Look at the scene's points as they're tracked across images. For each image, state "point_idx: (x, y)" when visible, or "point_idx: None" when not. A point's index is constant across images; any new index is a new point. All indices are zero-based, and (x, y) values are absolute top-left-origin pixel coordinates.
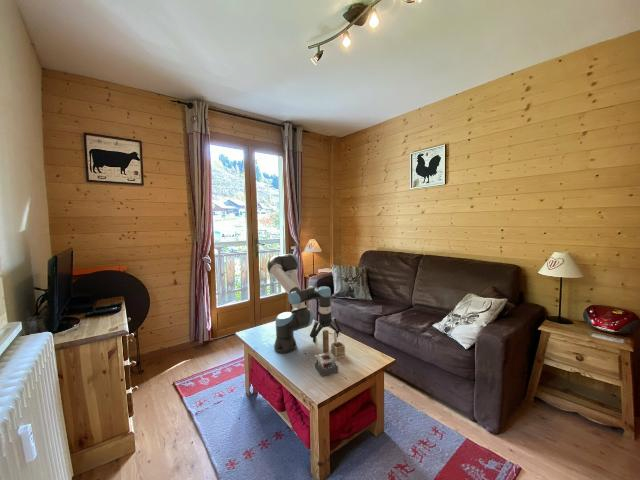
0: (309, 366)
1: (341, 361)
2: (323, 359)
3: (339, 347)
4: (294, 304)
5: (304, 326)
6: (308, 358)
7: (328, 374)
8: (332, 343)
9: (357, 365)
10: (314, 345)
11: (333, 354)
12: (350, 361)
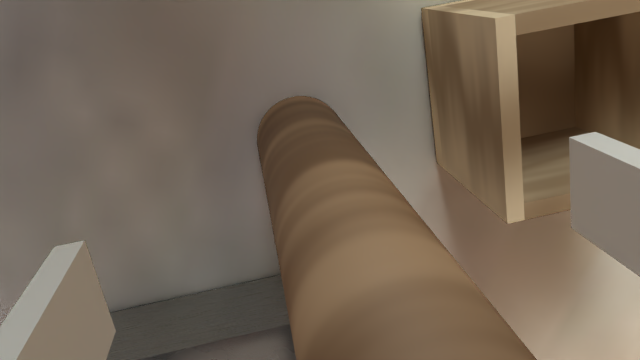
0: (24, 259)
1: (479, 235)
2: (225, 344)
3: None
4: None
5: None
6: (18, 44)
7: None
8: (523, 22)
9: (609, 342)
10: (46, 261)
11: (437, 92)
12: (579, 256)
